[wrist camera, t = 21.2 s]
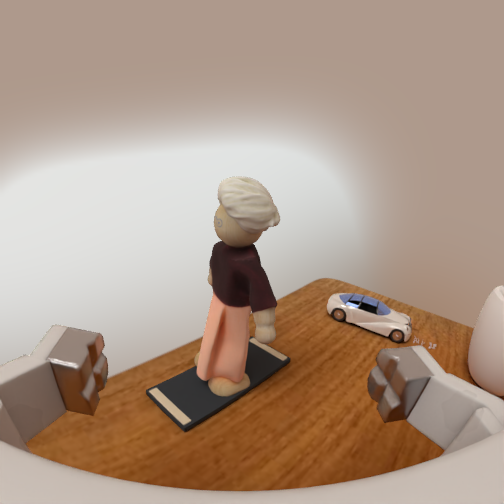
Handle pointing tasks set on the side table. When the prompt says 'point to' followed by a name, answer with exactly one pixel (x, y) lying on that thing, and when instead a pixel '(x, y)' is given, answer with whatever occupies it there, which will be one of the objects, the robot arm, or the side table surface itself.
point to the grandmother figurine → (237, 285)
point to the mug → (489, 345)
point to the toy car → (370, 315)
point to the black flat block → (200, 395)
